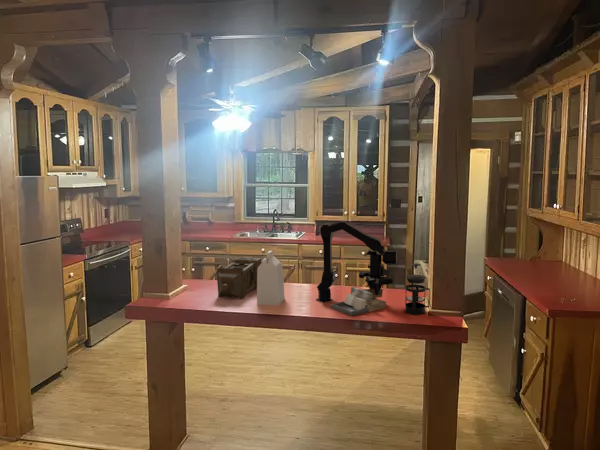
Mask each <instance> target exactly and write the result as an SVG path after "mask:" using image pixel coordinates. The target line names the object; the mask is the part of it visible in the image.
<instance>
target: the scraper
mask: <svg viewBox="0 0 600 450" xmlns="http://www.w3.org/2000/svg"><path fill="white" fill-rule="evenodd" d="M383 289H384V288H381V289H380V292H379V294H378V295H376V293H375V289H370V288H365V289H361V288H357V287H355V286H351V287H350V294H351V295H354V296H356V297H358V298H361V299H363V300H366V301H368V302H372V298H376V299H379V298H383Z"/></svg>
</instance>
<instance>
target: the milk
mask: <svg viewBox="0 0 600 450" xmlns="http://www.w3.org/2000/svg"><path fill="white" fill-rule="evenodd" d="M283 271H284V270H283V263H282V262H281V261H280V260H279V259H278V258H277V257H276V256H274V251H273V250H269V251H267V252H266V257H264V258H263V259H261V264H260V266H259V267H258V269H257V289H256V305H259V306H280V305H281V304H282V302H283V301H284V300H285V297H286V296H285V283H284V272H283Z"/></svg>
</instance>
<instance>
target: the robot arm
mask: <svg viewBox="0 0 600 450" xmlns="http://www.w3.org/2000/svg"><path fill="white" fill-rule="evenodd" d="M319 228H320V229H319V231H320V236H321V240H322V242H323V243H322V247H323V250H322V251H323V271H322V275H321V280H320V283H319V284H318V285H317V286H316V288H317V291H318V298H315V301H318V302H320V303H322V304H323V303H329V302H333V301H334V299H332V298H331V297H332V294H331V287H332V286H333V284H334V283H335V281H336V279H337V277H336V273H337V271H334V269H333V259H332V258H333V253H332V252H333V251H332V250H333V249H332V248H333V247H332V242H333V241H332V240H333V237H334V233H335V232H339V231H344V232H345V233H347V234H349V235H351V236H353V237H354V238H356V239H358V240H359V241H361V242H363V244H364V245H365V246H366V247H367V248H369V249H368V250H367V252H366V253H365V255H366V256H369V265H367V268H368V269H369V270H365V271H364V270H363V271H360V272H359V273H358V274H359V275H358V278H360V279H364V278H365V280H364V281H365V282H366V284H367V285H368V289H375V293H376V295H378V294H379V292H380V289H382V287H383V286H387V285H391V284H394V283H393V282H394V281H393V280H394V279H393V278H392V277H391V276H390V275H391V273H392V272H391V270H389V269H387V268H385V267H384V265H390V266H391V265H395V266H396V265H397V264H398V255H397V250H386V248H385V246H384V245H383V241H382V239H381V238H379V237H376V236H373V235H371V234H368V233H365V232H363V230H360V229H358V228H356V227H355V226H354V225H352V224H350V223H348V222H347V221H346V220H342V221H340V222H335V223H329V222H327V223H324V224H322V226H321V227H319ZM382 263H384V265H382Z"/></svg>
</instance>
